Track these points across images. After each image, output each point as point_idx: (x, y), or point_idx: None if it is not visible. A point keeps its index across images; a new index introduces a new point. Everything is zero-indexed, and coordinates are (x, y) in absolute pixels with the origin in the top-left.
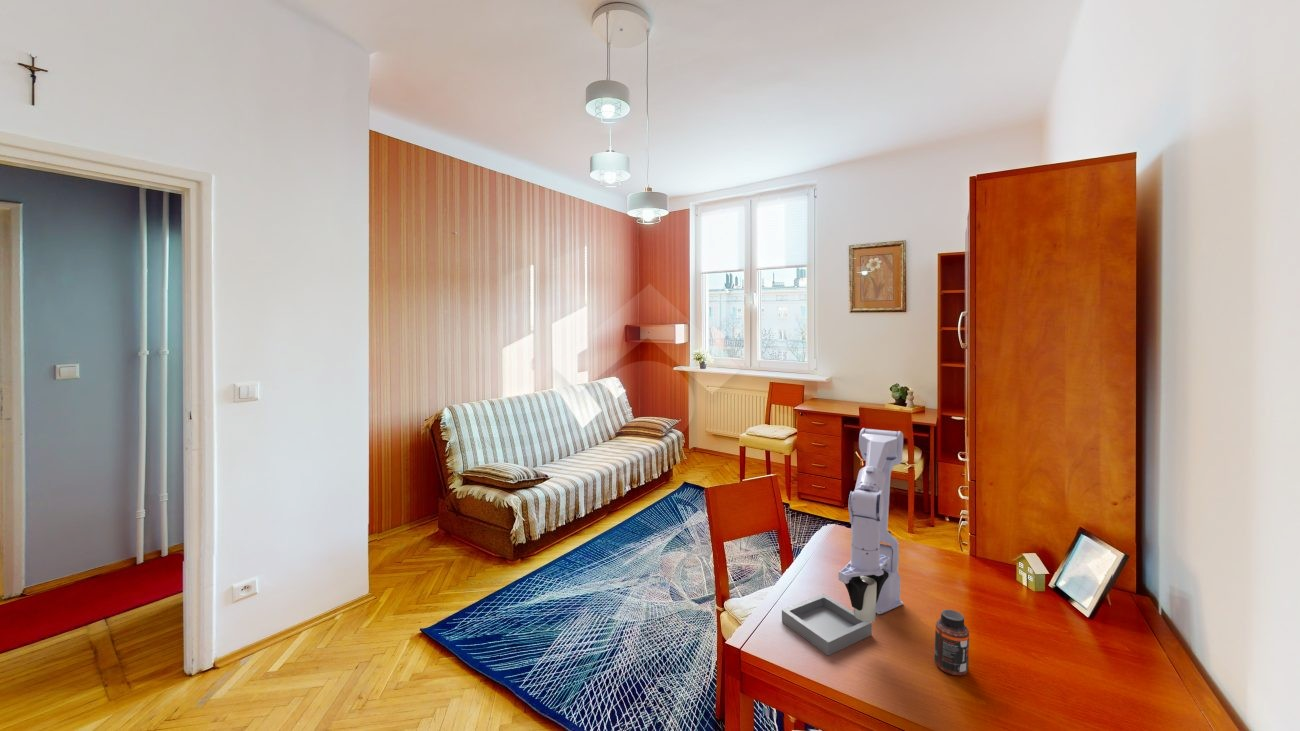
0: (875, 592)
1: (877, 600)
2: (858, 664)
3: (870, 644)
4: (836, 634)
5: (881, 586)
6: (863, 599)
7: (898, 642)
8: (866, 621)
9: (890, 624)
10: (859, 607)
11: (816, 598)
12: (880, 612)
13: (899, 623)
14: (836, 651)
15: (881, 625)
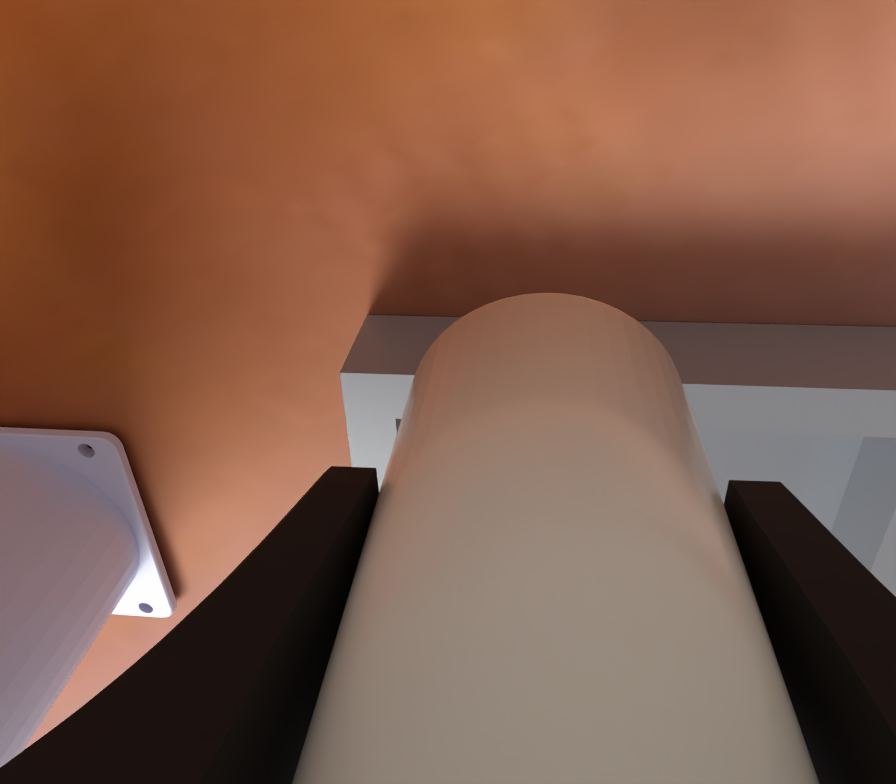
0: (489, 660)
1: (316, 489)
2: (845, 107)
3: (479, 242)
4: (803, 427)
5: (121, 715)
6: (833, 631)
7: (225, 130)
8: (650, 333)
9: (112, 323)
10: (820, 526)
11: None
12: (95, 440)
13: (30, 295)
14: (825, 326)
15: (191, 350)
